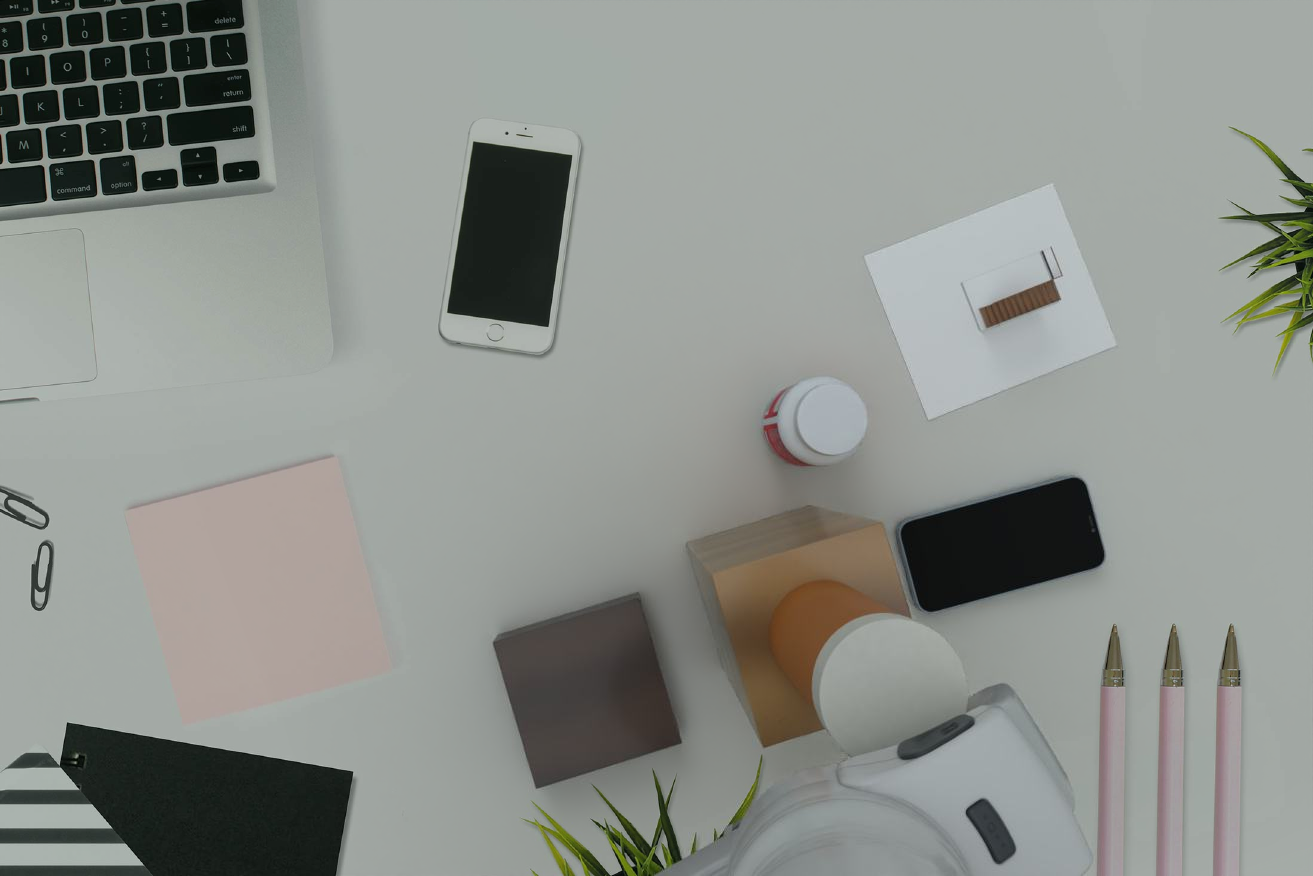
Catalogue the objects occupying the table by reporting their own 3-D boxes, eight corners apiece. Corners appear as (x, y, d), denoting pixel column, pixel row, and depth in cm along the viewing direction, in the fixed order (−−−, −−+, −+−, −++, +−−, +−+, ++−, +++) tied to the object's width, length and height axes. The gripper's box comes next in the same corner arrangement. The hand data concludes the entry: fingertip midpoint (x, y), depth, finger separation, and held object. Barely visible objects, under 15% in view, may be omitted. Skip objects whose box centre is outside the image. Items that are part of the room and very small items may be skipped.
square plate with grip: (1052, 182, 75) (1087, 160, 69) (1117, 345, 74) (1157, 336, 69) (863, 256, 74) (882, 239, 68) (928, 420, 74) (953, 417, 68)
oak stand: (848, 630, 73) (935, 694, 53) (723, 669, 73) (763, 748, 53) (810, 504, 73) (883, 521, 53) (685, 542, 73) (710, 574, 53)
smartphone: (895, 522, 73) (1084, 471, 73) (891, 521, 73) (1078, 471, 74) (920, 617, 72) (1109, 566, 73) (917, 615, 73) (1103, 564, 74)
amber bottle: (892, 672, 53) (987, 744, 40) (786, 705, 53) (844, 790, 39) (860, 564, 53) (943, 600, 40) (753, 597, 53) (800, 644, 39)
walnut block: (679, 731, 72) (682, 743, 69) (539, 775, 72) (535, 789, 69) (637, 591, 73) (638, 597, 70) (497, 634, 72) (492, 642, 69)
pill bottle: (836, 469, 73) (875, 471, 62) (757, 462, 73) (781, 462, 62) (843, 389, 74) (883, 376, 62) (764, 381, 73) (790, 367, 62)
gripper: (646, 1110, 36) (681, 944, 49) (1137, 842, 34) (1033, 747, 48) (563, 953, 36) (620, 832, 50) (1039, 685, 35) (964, 636, 49)
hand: (825, 789), depth 49 cm, fingers open, 8 cm apart
